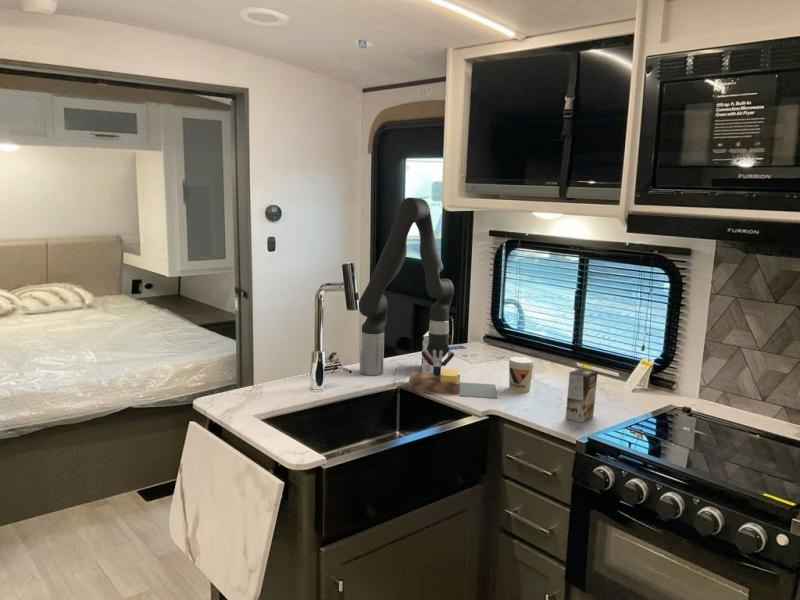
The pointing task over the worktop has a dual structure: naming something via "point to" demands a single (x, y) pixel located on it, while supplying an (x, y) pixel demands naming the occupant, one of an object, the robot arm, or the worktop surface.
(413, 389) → the brown flat block
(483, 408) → the worktop surface
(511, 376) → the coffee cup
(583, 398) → the coffee box
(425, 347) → the candy box
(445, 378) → the yellow rectangular block
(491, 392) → the mat
